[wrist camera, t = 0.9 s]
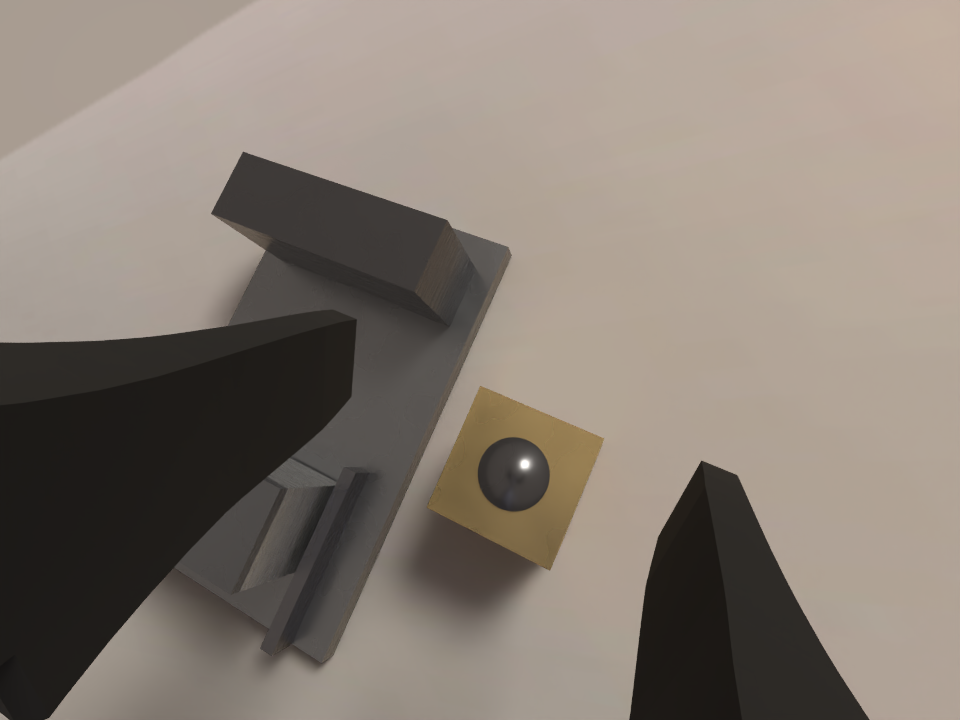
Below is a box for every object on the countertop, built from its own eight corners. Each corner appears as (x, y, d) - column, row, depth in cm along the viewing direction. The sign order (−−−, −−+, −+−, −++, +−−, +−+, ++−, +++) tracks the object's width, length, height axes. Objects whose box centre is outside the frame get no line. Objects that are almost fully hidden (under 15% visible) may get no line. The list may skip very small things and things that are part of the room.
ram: (303, 569, 23) (230, 594, 18) (186, 500, 25) (93, 507, 20) (342, 485, 23) (280, 489, 19) (224, 422, 25) (141, 413, 21)
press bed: (332, 655, 23) (246, 716, 17) (140, 532, 26) (14, 550, 21) (511, 255, 25) (487, 192, 19) (312, 187, 28) (240, 116, 23)
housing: (561, 544, 22) (549, 571, 16) (467, 498, 23) (426, 507, 18) (601, 446, 23) (604, 438, 17) (507, 406, 24) (480, 385, 18)
